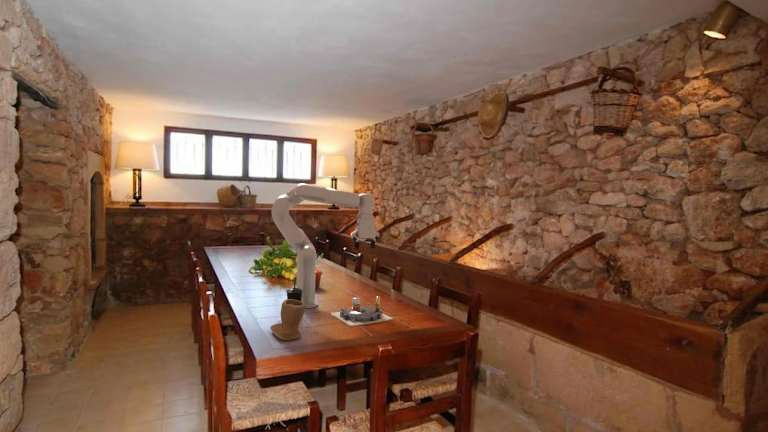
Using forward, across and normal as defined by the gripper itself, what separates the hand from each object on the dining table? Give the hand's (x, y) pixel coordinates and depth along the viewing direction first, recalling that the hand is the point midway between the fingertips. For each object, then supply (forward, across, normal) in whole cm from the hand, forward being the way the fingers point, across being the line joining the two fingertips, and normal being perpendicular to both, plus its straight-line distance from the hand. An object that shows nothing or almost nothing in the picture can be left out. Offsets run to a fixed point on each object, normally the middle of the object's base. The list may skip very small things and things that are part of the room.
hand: (364, 248), depth 226 cm
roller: (+27, -12, -14) cm, 33 cm away
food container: (+31, -11, +48) cm, 58 cm away
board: (+30, -12, -19) cm, 38 cm away
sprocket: (+30, -12, -19) cm, 38 cm away
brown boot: (+31, -52, -28) cm, 67 cm away
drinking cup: (+31, -42, -8) cm, 53 cm away
